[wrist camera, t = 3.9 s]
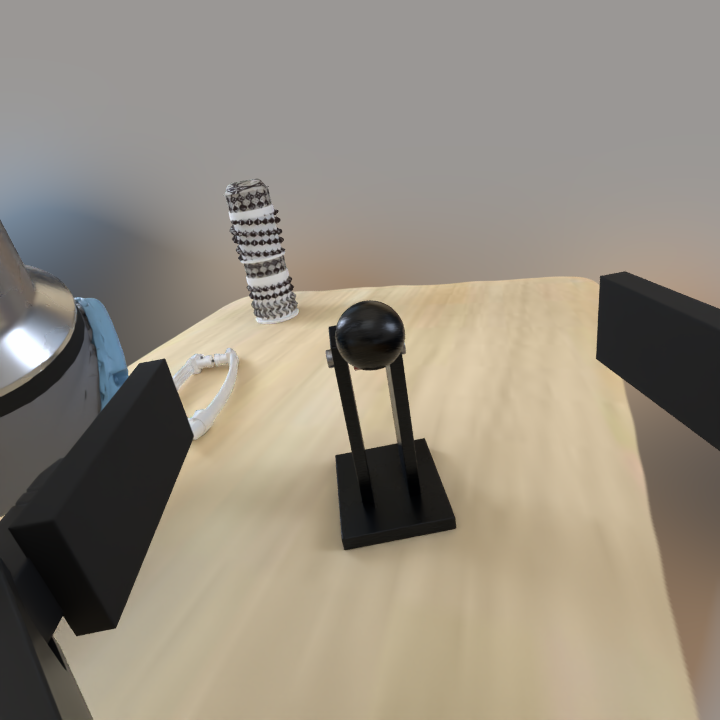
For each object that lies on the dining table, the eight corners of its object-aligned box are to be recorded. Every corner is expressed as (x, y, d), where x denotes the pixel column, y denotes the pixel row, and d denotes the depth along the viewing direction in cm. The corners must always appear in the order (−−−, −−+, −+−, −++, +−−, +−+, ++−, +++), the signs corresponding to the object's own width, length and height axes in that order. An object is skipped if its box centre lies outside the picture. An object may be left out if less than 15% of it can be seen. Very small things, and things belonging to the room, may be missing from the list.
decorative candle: (309, 312, 91) (279, 175, 81) (266, 328, 87) (228, 186, 77) (288, 304, 99) (258, 177, 88) (247, 318, 94) (210, 187, 84)
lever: (415, 361, 23) (400, 288, 23) (341, 375, 23) (327, 301, 23) (391, 371, 38) (383, 327, 38) (347, 379, 38) (339, 335, 38)
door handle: (131, 460, 54) (190, 365, 77) (216, 445, 54) (249, 355, 77) (123, 440, 53) (184, 350, 76) (209, 426, 53) (245, 340, 76)
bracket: (456, 528, 38) (438, 348, 31) (344, 550, 37) (301, 373, 31) (425, 447, 47) (407, 298, 41) (337, 464, 47) (304, 317, 41)
